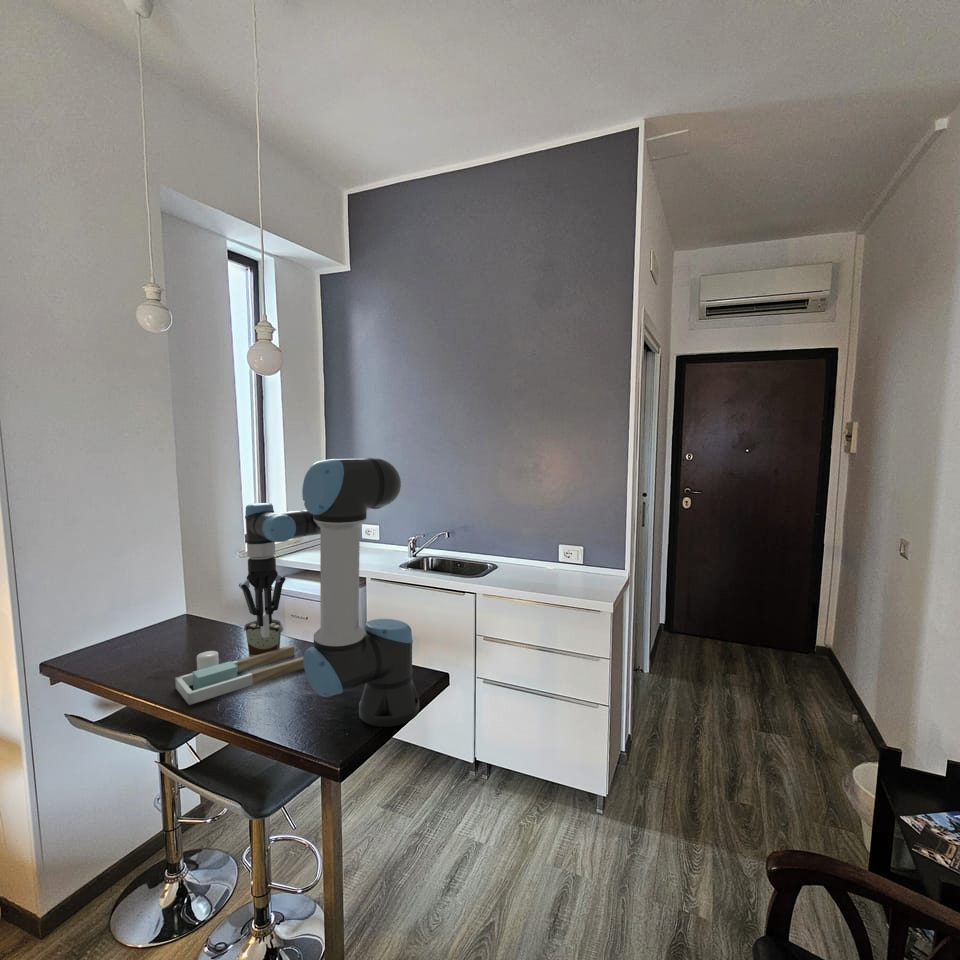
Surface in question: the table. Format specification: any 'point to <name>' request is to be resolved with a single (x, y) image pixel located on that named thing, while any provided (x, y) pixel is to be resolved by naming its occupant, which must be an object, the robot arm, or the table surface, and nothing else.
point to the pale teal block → (226, 671)
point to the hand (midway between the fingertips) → (265, 635)
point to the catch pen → (210, 687)
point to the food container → (260, 643)
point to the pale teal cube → (204, 678)
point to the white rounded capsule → (207, 659)
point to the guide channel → (269, 658)
